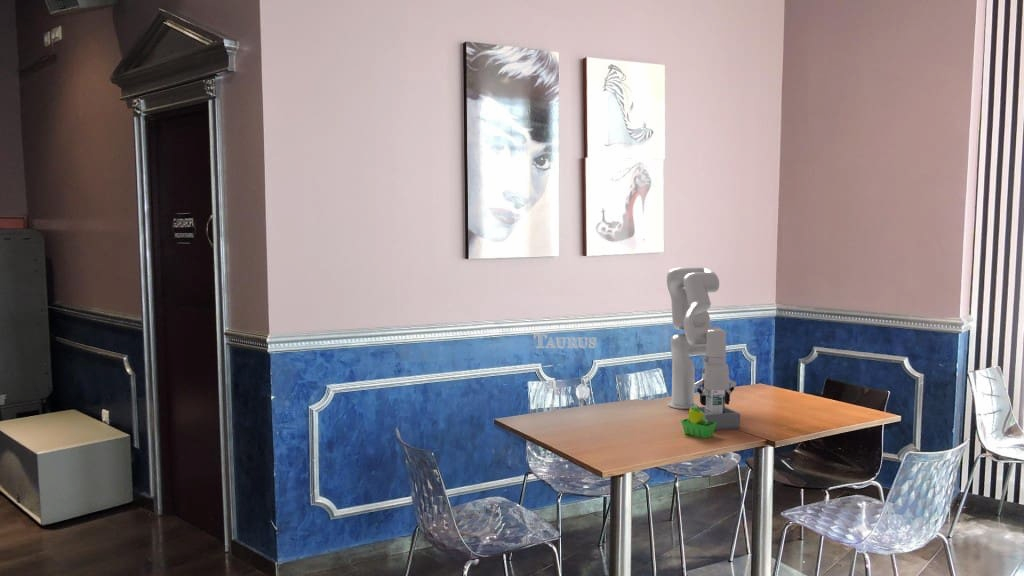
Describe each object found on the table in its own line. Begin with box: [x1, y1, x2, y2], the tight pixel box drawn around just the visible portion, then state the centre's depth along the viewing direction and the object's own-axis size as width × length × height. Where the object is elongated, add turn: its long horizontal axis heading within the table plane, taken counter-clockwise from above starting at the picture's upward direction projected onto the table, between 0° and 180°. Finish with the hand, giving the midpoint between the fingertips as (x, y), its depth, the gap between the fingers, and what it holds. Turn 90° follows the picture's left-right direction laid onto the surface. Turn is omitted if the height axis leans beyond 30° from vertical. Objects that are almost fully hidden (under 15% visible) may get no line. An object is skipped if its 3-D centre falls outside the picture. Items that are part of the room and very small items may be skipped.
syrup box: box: [704, 389, 726, 414], centre depth 311 cm, size 6×6×14 cm
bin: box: [689, 406, 741, 431], centre depth 311 cm, size 14×14×6 cm
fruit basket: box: [680, 406, 717, 439], centre depth 296 cm, size 11×9×11 cm
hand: (714, 404), depth 311 cm, fingers open, 9 cm apart
